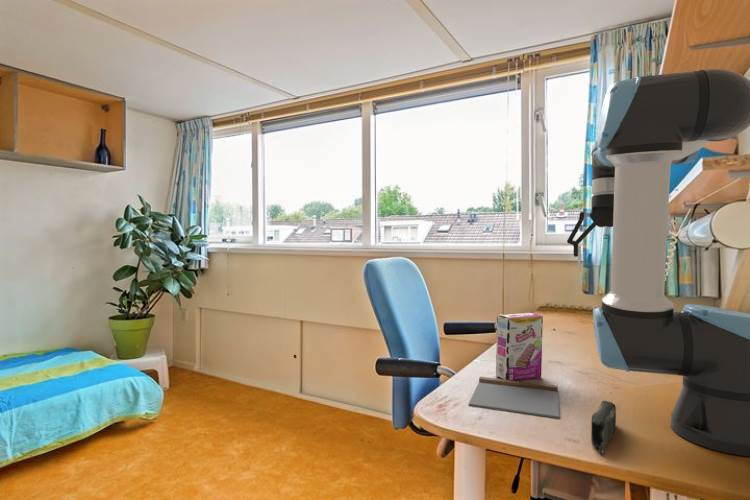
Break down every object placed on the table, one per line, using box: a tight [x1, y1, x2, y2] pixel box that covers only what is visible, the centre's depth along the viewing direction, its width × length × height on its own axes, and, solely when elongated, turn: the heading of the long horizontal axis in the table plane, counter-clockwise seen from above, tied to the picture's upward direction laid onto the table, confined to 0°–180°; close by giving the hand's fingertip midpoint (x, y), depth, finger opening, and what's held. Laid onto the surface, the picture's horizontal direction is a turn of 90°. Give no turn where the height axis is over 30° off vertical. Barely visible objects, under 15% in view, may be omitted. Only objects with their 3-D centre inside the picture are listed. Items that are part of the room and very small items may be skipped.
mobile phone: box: [590, 400, 617, 456], centre depth 77 cm, size 5×3×15 cm
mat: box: [468, 381, 560, 420], centre depth 95 cm, size 15×18×1 cm
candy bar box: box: [495, 312, 544, 381], centre depth 109 cm, size 11×5×16 cm, turn 111°
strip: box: [478, 376, 559, 393], centre depth 103 cm, size 2×18×1 cm, turn 68°
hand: (605, 268), depth 121 cm, fingers open, 13 cm apart
